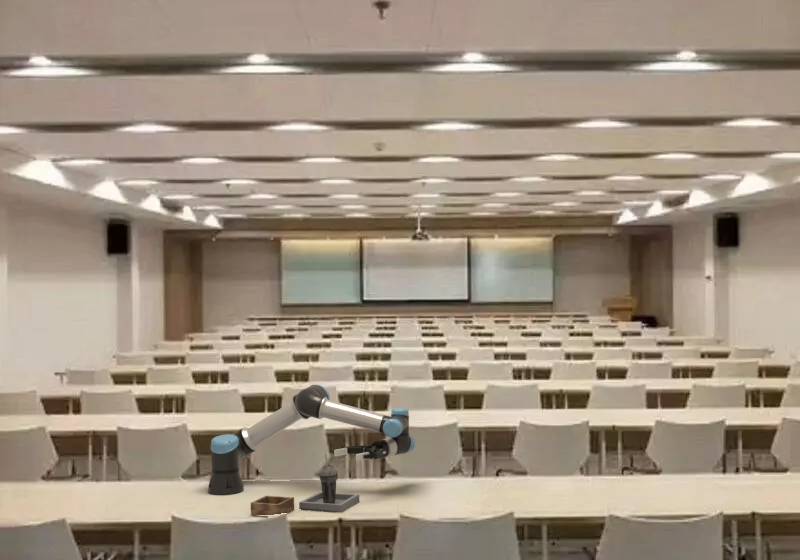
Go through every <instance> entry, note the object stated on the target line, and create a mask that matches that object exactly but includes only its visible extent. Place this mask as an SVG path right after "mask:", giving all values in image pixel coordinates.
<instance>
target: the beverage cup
mask: <svg viewBox="0 0 800 560" xmlns="http://www.w3.org/2000/svg"><path fill="white" fill-rule="evenodd" d="M324 457H325V465H323V466H322V467H321V468H320V471H319V475H318V477H319V479H320V480H319V481H320V485H321V486H320V487H321V492H322V495H323V502H324V503H331V504H335V497H336V493H337V480H338V479H337V478H338V471H337V469H336V467H335V466H334V465H331V464H328V458H327V457H328V456H327V454H325V456H324Z"/></svg>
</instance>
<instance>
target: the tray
mask: <svg viewBox="0 0 800 560" xmlns="http://www.w3.org/2000/svg"><path fill="white" fill-rule="evenodd" d="M358 503H360V494H357V493H355V494H353V493H340V492H336V497H335V504H331V503H324V502H323V495H322V491H318V492H316V493H314V494H312V495H311V496H309V497H307V498H305V499H303V500H301V501H299V502H298V504H299V505H298V508H299V509H301V510H300V511H308V510H311V512H321V511H323V512H324V513H325V512H326V513H335V512H342V511H343V512H345V511H347V510H348V509H350V508H352V507H353V506H355V505H357V504H358ZM346 509H347V510H346ZM343 512H342V513H343Z"/></svg>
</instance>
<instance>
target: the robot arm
mask: <svg viewBox="0 0 800 560" xmlns="http://www.w3.org/2000/svg"><path fill="white" fill-rule="evenodd" d="M330 398H331V397H330V393H329V391H328V390H327V388H326V387H325V386H323V385H321V384H311V385H309V386H308V387H306V388H304V389H302V390H300V391H299V392H298V393H297V394H295V395H294V396H293V397H292V399H291V401H290V402H288V403H287V404H285V405H284V406H282V407H281V408H279V409H278V410H276V411H274V412H273V413H271V414H270V415H268V416H266V417H264V418H263V419H261V420H260V421H257V422H256V423H255V424H253V425H252V426H250V427H246V426H244V427H242V428H239V430H237V431H235V432H234V433H228V434H221V435H217V436H215V437H213V438H211V441H210V457H211V458H210V459H211V460H210V461H211V463H210V464H211V476H210V479H209V482H208V486H207V492H209V493H208V494H210V493H211V495H215V496H216V495H217V496H218V495H219V496H222V495H223V496H225V495H234V494H238V493H239V494H240V493H241V492H243V491H244V490H245V487H244V486H245V485H244V482H243V479H242V476H241V474H240V461H241V460H242V459H243V460H244V459H245V458H247V457H248V456H249V455H251V454H253V453H254V452H256V451H257V450H258V449H259V445H261V444H262V443H264V442H265V441H267V440H269V439H271V438H272V437H274V436H275V435H277V434H279V433H280V432H281V431H284V430H285V429H286V428H289V427H290V426H292V425H293V424H295V423H296V422H298V421H300V420H301V419H303V420H308V419H309V418H315V419H317V420H322V419H324V418H325V419H328V420H332V421H335V422H339V423H343V424H347V425H351V426H355V427H359V428H362V429H366V430H369V431H372V432H378V433H381V434H384V435H385V436H386V437H387V438H383V439H382V438H381V439H377V440H374V441H373V442H372V444H368V445H366V444H362V445H349V446H343V448H337V449H334V450H333V456H334V457H341V456H347V455H348V454H349V455H351V454H355V462H360V461H367V460H377V459H383V458H386V457H387V458H391V457H392V456H397V455H402V454H403V455H404V454H409V453H411V452H412V451H413V450H414V448H415V445H416V444H415V441H414V437H413V436H412V435H411V434H410V415H409V410H408V409H407V408H405V407H397V408H396V407H395V408H392V409H391V412H390V415H386V414H382V413H379V412H375V411H372V410H368V409H365V408H364V409H363V408H359V407H356V406H352V405H348V404H345V403H340V402H337V401H334V400H333V401H332V400H331V399H330Z"/></svg>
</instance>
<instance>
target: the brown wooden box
mask: <svg viewBox="0 0 800 560" xmlns="http://www.w3.org/2000/svg"><path fill="white" fill-rule="evenodd" d="M293 510H294V511H295V497H291V496H277V495H265V496H264V495H263V496H262V497H259V499H257V500H254V501H252V502H250V516H251V515H274V514H281V513H288V514H290V513H291V511H292V512H294V511H293ZM289 512H290V513H289Z"/></svg>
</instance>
